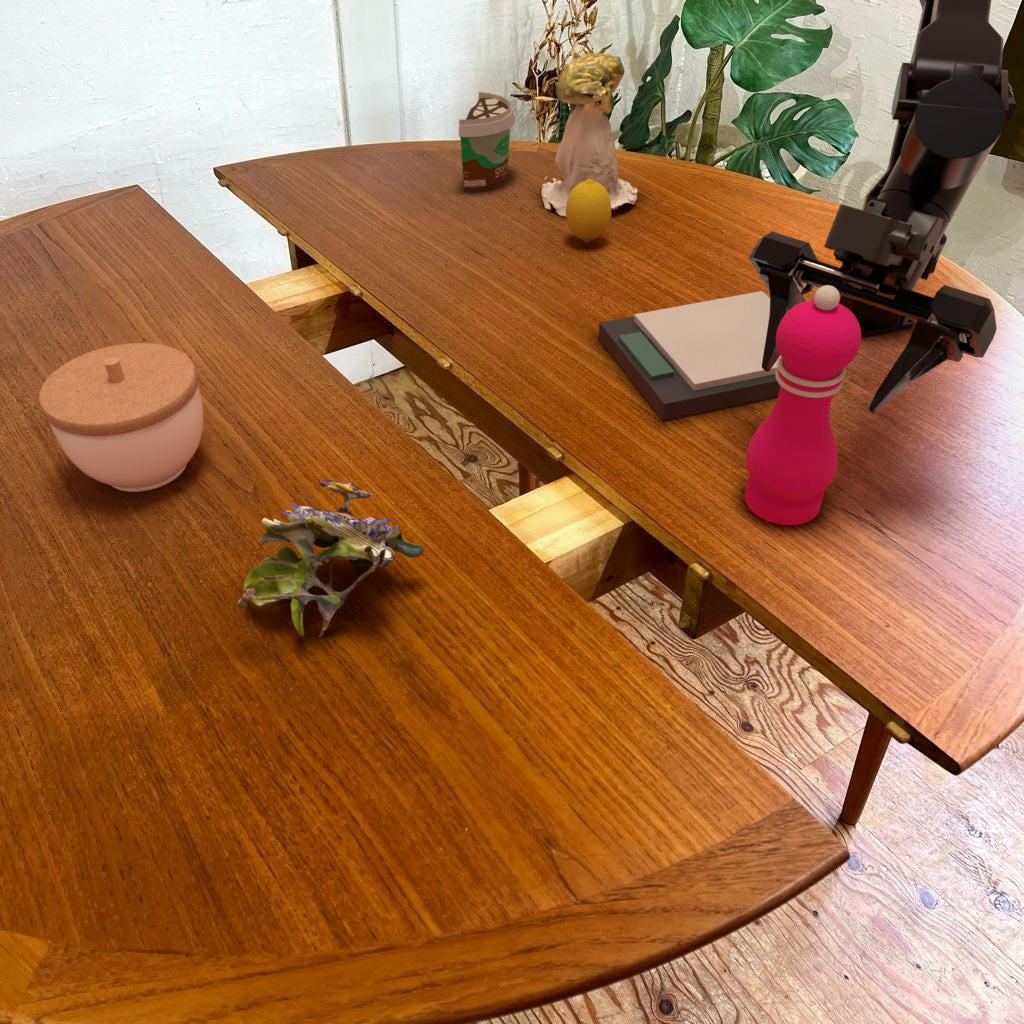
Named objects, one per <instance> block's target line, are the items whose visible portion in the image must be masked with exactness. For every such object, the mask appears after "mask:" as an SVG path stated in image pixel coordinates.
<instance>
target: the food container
mask: <svg viewBox="0 0 1024 1024" xmlns="http://www.w3.org/2000/svg"><path fill="white" fill-rule="evenodd" d="M458 122H459V123H458V137H459V138H460V139H459V140H460V150H461V151H460V153H461V164H462V165H461V166H462V179H463V191H464V192H465V193H477V192H479V193H480V192H487V191H490V190H495V189H498V188H500V187H502V186H503V185H504V184H506V182H507V181H508V171H509V155H510V140H511V139H510V138H511V137H510V136H511V128H512V127H513V126H514V124H515V123H516V117H515V113H514V108H513V106H512V104H511V102H510V100H509V99H507V98H506V97H504V96H502V95H499V94H497V93H496V94H495V93H491V92H483V91H478V99H477V102H476V104H475V105H474V106H473V107H471V108H470V110H469V111H468V114H467V116H466V118H465V119H458Z"/></svg>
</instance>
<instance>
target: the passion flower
mask: <svg viewBox="0 0 1024 1024" xmlns="http://www.w3.org/2000/svg"><path fill="white" fill-rule="evenodd" d="M318 484H319V485H320V487H322V488H324V489H327V490H330V491H332V493H335V494H336V493H337V494H340V495H341V496H342V497H343V504H342V506H340V507H339V508H338V509H336V510H334V511H329V510H328V511H325V510H324V509H322V510H321V509H319V508H314V507H311V506H306V505H305V506H303V505H298V504H295V503H294V502H291V507H292V508H293V510H289V509H287V510H285V511H283V512H282V514H284V515H285V516H286V515H287V519H288V520H289V521H290V522H282V521H281V520H278V519H276V518H274V519H273V521H272V520H271V519H268V518H267V517H263V518H262V520H261V526H263V528H264V529H265V532H263V533H262V535H261V539H260V544H261V545H265V544H268V543H275V542H278V543H282V542H286V543H290V544H291V545H292V546H294V547H295V548H296V549H297V551H298V553H299V555H300V557H299V556H298V554H297V553H296V552H295V551H294V550H293V549H292V548H290V547H289V546H288V545H287V546H283V547H281V548H280V550H278V551H277V554H276V556H275V555H274V556H273V555H269V556H267V557H266V558H263V559H262V560H261V561H260V562H259V563H257V565H256V566H254V567H253V569H250V570H249V572H248V573H247V575H246V577H245V579H244V581H243V582H242V588H243V595H242V597H241V598H240V599H239V600H238V601H237V606H238V607H239V608H241V609H246V608H247V606H248V601H249V600H250V601H251V602H252V603H253V605H254V606H255V607H265V606H267V605H272V604H274V603H277V602H279V601H282V600H289V599H291V602H290V611H291V622H292V624H293V627H294V629H295V630H296V632H297V633H298V634H299V635H300V636H301V638H302V637H305V631H304V628H305V627H304V611H305V608H306V606H307V604H309V602H310V601H315V602H316V604H317V611H318V613H319V614H320V615H321V617H322V621H323V622H322V628H321V630H320V632H319V634H318V638H323V636H324V634H325V632H326V630H327V629H328V627H329V625H330V622H331V620H332V619H333V616H334V615H335V613H336V612H337V610H338V609H340V608H341V607H342V606H344V605H345V603H346V600H347V599H346V598H347V597H348V596H349V594H350V593H351V591H353V590H354V589H355V588H356V587H358V585H359V584H361V582H363V580H365V579H366V578H367V577H368V576H370V574H371V573H373V572H374V571H376V570H377V569H378V568H380V567H381V568H384V569H385V568H387V567H388V566H389V564H390V563H393V562H394V561H395V558H396V552H399V553H401V554H402V555H404V556H406V557H408V558H418V557H420V556H421V555H423V554H424V552H425V550H424V546H423V543H422V544H418V543H414V542H413V543H411V542H408V541H406V539H405V538H404V536H403V533H402V530H401V527H400V526H398V525H397V524H396V525H391V526H389V525H387V524H388V523H389V522H390V521H391V519H390V518H385V519H375V518H374V517H369V516H368V517H365V518H356V517H355V516H354V515H353V514H352V512H351V510H350V505H351V502H352V501H353V500H354V499H365V500H367V499H369V498H370V497H372V496H373V494H372V492H367V491H366V490H365V489H364V490H363V489H362V488H360V487H359V486H356V485H354V484H353V482H342V481H338V480H334V479H321V480H319V482H318ZM287 506H288V507H289V506H290V504H289V503H288V504H287ZM314 546H315V547H317V548H322V549H323V550H321V552H320V553H318V554H315V551H314ZM334 560H339V561H340V560H348V561H349V563H350V564H353V565H355V566H358V567H359V568H363V567H365V566H370V568H369V569H368V570H367V571H366V572H364V573H363V574H361V575H360V576H359V577H357V579H356V580H355V581H354V582H353V583H352V584H350V585H349V586H348V587H347V588H346V589H345V590H343V591H336V590H334V589H335V588H334V586H333V579H334V576H333V562H334ZM327 563H329V576H328V577H329V578H328V582H326V583H323V582H322V581H321V580H320V578H319V577H318V576H317V570H318V569H319V568H320V567H322V566H323V565H325V564H327ZM313 587H317V588H319V589H321V590H323V591H324V592H325V593H326V594H327V595H323V594H322V595H321V594H320V595H318V594H311V593H310V592H309V589H310V588H313Z"/></svg>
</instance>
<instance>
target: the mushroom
mask: <svg viewBox="0 0 1024 1024" xmlns="http://www.w3.org/2000/svg"><path fill="white" fill-rule="evenodd" d="M558 74H559V75H560V73H559V72H556V75H558ZM624 74H625V67H624V65H623V63H622V59H621V57H620V56H618V55H616V56H615V55H611V54H609V53H604V52H589V53H584V54H582V55H580V56H578V57H576V58H575V59H573V60H570V61H569V62H568V63H567V65H566V66H565V67H564V70H563V72H562V73H561V75H560V77H559V79H558V82H557V86H556V93H557V96H556V97H557V100H558V101H560V102H562V103H565V104H569V105H570V107H571V112H570V114H569V116H568V119H567V120H566V124H565V126H564V132H563V134H562V139H561V141H559V143H558V149H557V151H556V155H555V164H556V166H557V168H558V169H559V171H560V173H561V174H562V180H561V179H556V178H555V177H553V178H552V181H553V182H550V181H547V182H546V183H542V185H541V200H542V201H543V206H544V208H545V209H547V210H548V211H551V210H552V207H553V208H554V209H555V212H556V214H558V215H559V216H560V217H565V218H566V205H567V201H568V197H569V195H570V192H571V191H572V189H573V188H574V187H575V186H576V185H578V184H579V183H581V182H584V181H586V180H587V179H593V181H595V182H598V183H600V184H601V185H602V186H603V187H604V188H605V189H606V190H607V192H608V194H609V197H610V201H611V209H613V211H616V210H618V209H619V207H621V206H622V205H624V204H626V203H627V204H632V205H635V204H636V201H637V199H638V192H639V191H638V188H637V187H633V186H632V184H631V183H630V182H629V181H627V180H626V179H625V180H624V179H622V178H619V169H618V161H617V150H616V143H615V136H614V133H613V130H612V126H611V122H610V120H609V117H608V115H607V114H610V113H611V112H612V111H613V109H614V95H613V93H614V92H615V91H616V90H617V89H618V86H619V85H620V83H621V81H622V80H623V78H624V76H625V75H624ZM547 179H548V176H547V175H546V176H545V177H544V178H543V180H545V181H546V180H547ZM551 206H552V207H551Z"/></svg>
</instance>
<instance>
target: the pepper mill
mask: <svg viewBox="0 0 1024 1024" xmlns="http://www.w3.org/2000/svg"><path fill="white" fill-rule="evenodd" d="M840 296H841V295H840V294H839V292H838V290H837V289H836V288H835V287H833V286H829V285H826V286H822V287H820V288H819V287H818V288H817V290H816V291H815V292H814V295H813V299H810V300H805V302H802V303H799V304H798V305H796V306H794V307H793V308H791V309H790V310H789V311H788V312H787V313H786V314H785V315H784V317H783V318H782V320H781V322H780V324H779V326H778V329H777V334H776V346H777V349H778V352H779V354H780V355H781V357H780V359H779V360H778V364H777V366H778V369H777V370H776V374H775V375H776V380H777V382H778V383H779V384H780V391H779V395H778V397H777V400H776V402H775V404H774V406H773V408H772V410H771V411H770V412H769V414H768V416H767V417H766V418H765V419H764V421H763V422H762V423H761V424H759V425H760V426H758V428H757V429H756V430H755V432H754V433H753V436H752V437H751V439H750V440H749V443H748V447H747V450H746V453H745V467H746V470H747V472H748V474H749V476H748V478H747V480H746V486H745V490H744V491H745V492H744V500H745V504H746V506H747V507H748V509H749V510H750V511H751V512H752V513H753V514H754V515H756V516H757V517H758V518H760V519H761V520H764V521H766V522H767V523H771V524H775V525H781V526H798V525H803V524H807V523H809V522H810V521H812V520H814V519H815V518H816V517H817V516H818V514H819V513H820V510H821V506H822V504H823V503H822V502H823V500H824V496H825V495H824V494H825V490H826V488H827V487H828V486H829V485H831V483H832V482H833V481H834V479H835V477H836V473H837V467H838V458H839V457H838V447H837V442H836V439H835V436H834V432H833V430H832V426H831V422H830V410H831V405H832V401H833V398H834V395H835V394H837V393H838V392H839V391H840V390H842V388H843V386H844V378H845V377H846V375H847V369H846V367H847V366H849V365H850V364H851V363H852V362H853V361H854V360H855V359H856V356H857V355H858V353H859V350H860V348H861V341H862V335H861V330H860V325H859V323H858V321H857V318H856V317H855V316H854V314H853V313H852V312H851V311H850V310H849V309H848V308H846V307H844V306H843V305H841V304H839V301H840Z"/></svg>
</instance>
